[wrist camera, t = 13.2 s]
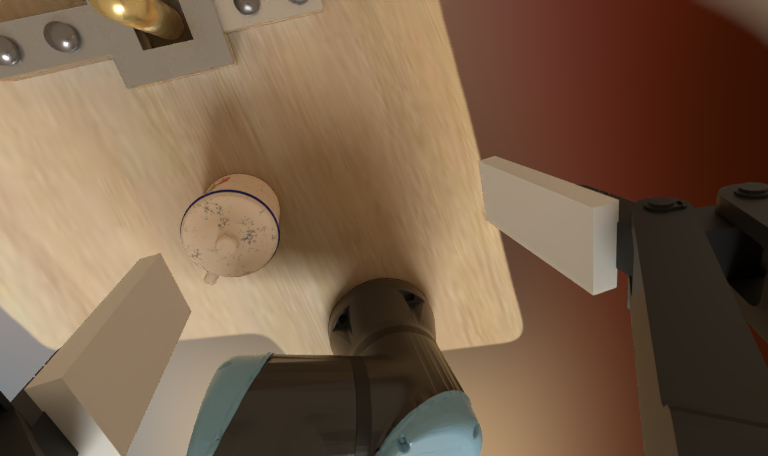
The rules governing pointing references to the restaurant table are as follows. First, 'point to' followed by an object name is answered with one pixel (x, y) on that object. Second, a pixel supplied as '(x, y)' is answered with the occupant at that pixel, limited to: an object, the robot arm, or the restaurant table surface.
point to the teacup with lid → (232, 227)
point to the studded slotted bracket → (136, 40)
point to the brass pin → (143, 16)
